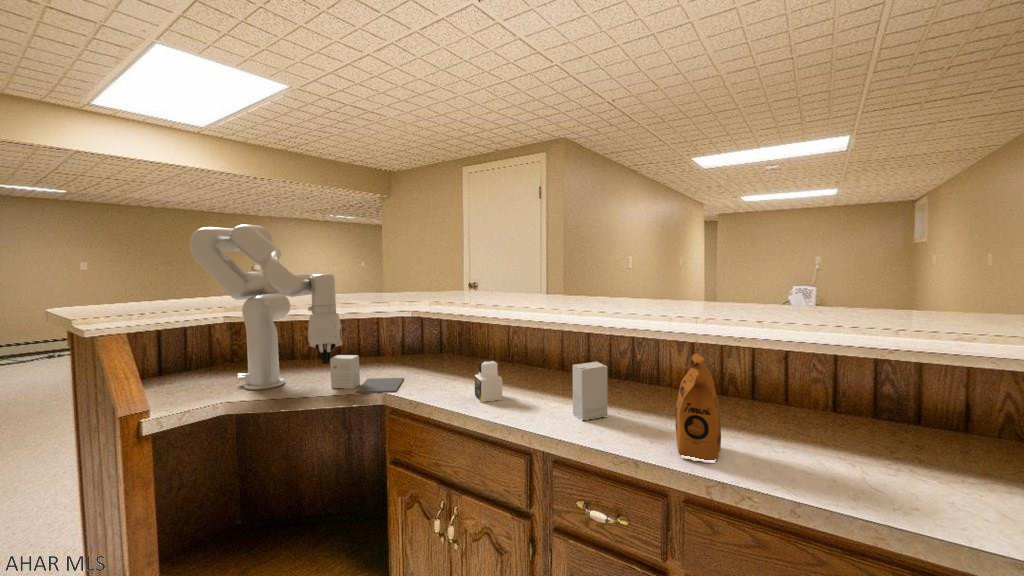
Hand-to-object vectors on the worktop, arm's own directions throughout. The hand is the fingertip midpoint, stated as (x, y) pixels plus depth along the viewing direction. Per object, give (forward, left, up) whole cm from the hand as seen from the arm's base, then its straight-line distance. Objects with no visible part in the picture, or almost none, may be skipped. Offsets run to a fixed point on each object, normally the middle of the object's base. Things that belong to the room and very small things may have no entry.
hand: (326, 363), depth 160 cm
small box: (+6, 0, -9) cm, 11 cm away
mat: (+18, 0, -8) cm, 20 cm away
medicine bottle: (+55, -17, -9) cm, 58 cm away
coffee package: (+102, -61, -9) cm, 119 cm away
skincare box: (+83, -36, -9) cm, 91 cm away
